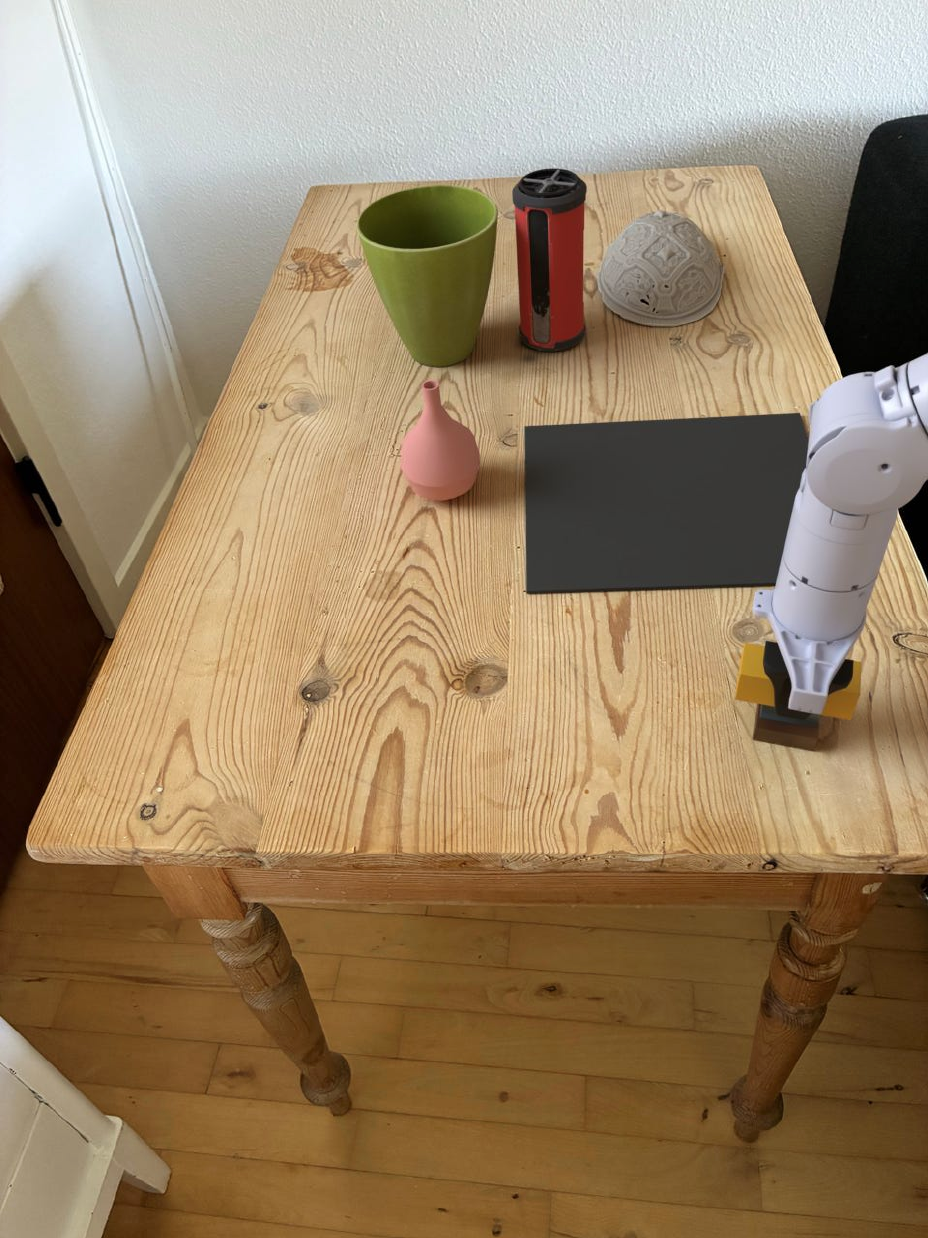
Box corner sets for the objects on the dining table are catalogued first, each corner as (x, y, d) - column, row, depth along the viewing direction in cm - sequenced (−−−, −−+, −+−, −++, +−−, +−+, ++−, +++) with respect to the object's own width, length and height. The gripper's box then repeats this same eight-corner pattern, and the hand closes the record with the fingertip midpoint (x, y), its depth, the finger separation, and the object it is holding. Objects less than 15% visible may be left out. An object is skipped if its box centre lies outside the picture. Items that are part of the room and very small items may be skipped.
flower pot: (516, 375, 105) (509, 236, 93) (385, 396, 104) (362, 259, 93) (493, 309, 115) (484, 176, 103) (373, 327, 115) (351, 196, 103)
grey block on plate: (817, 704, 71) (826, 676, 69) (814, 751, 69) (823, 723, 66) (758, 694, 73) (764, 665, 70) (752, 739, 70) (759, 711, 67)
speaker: (509, 348, 109) (500, 192, 96) (533, 315, 113) (528, 161, 100) (572, 358, 106) (571, 199, 93) (594, 324, 111) (596, 167, 98)
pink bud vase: (390, 501, 92) (370, 397, 83) (431, 457, 96) (416, 354, 88) (457, 523, 89) (445, 418, 80) (496, 476, 93) (488, 372, 84)
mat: (799, 415, 96) (799, 412, 95) (856, 583, 80) (857, 579, 79) (524, 429, 98) (524, 425, 98) (526, 594, 82) (526, 590, 82)
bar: (852, 688, 68) (861, 661, 66) (850, 720, 66) (860, 694, 64) (739, 668, 70) (744, 642, 68) (734, 699, 68) (739, 673, 66)
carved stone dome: (593, 322, 110) (600, 266, 105) (600, 234, 127) (607, 182, 122) (727, 334, 109) (740, 278, 104) (715, 243, 126) (727, 192, 121)
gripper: (773, 478, 64) (746, 613, 74) (752, 634, 55) (724, 764, 65) (884, 491, 62) (841, 628, 72) (881, 655, 53) (832, 786, 63)
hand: (793, 694), depth 68 cm, fingers closed on bar, 3 cm apart
